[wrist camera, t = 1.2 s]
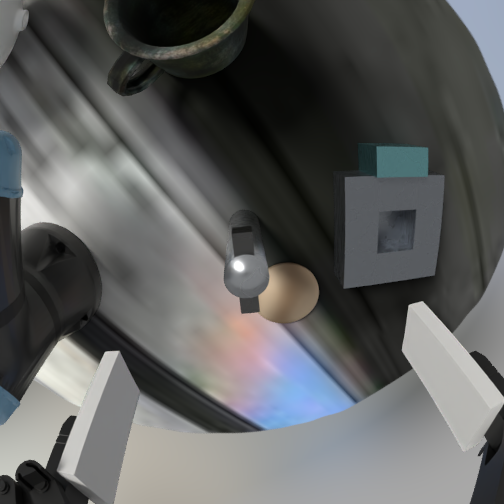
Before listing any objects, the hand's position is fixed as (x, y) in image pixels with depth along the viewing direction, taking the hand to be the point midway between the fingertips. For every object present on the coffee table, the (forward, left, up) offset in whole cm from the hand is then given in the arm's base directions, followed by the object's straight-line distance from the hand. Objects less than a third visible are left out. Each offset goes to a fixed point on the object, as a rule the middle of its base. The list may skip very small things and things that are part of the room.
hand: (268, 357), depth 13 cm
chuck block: (+15, 0, -22) cm, 27 cm away
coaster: (+3, -10, -22) cm, 25 cm away
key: (-1, -1, -22) cm, 22 cm away
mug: (-5, +19, -23) cm, 30 cm away
